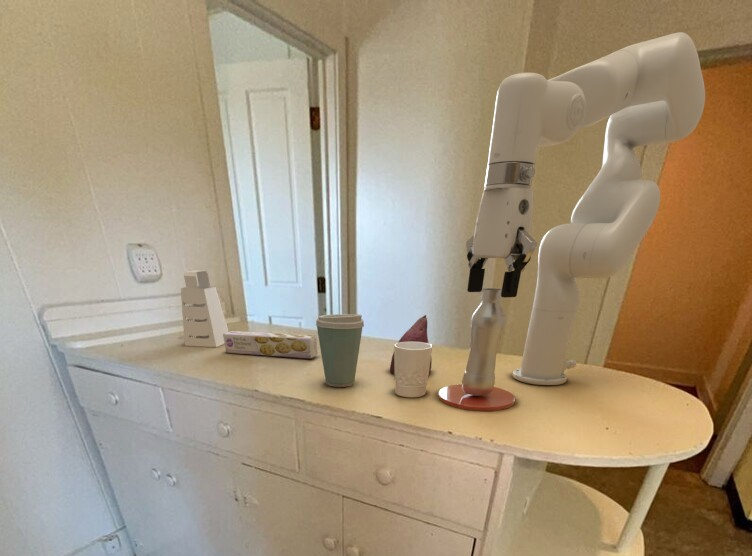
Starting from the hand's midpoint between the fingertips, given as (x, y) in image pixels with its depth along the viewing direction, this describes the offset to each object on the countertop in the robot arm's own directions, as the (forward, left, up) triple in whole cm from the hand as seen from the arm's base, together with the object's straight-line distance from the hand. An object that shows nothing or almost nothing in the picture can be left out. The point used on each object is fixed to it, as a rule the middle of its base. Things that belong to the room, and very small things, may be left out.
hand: (490, 294), depth 80 cm
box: (+29, -57, -20) cm, 67 cm away
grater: (+43, -81, -20) cm, 94 cm away
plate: (0, 0, -20) cm, 20 cm away
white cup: (+11, -9, -20) cm, 25 cm away
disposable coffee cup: (+22, -22, -20) cm, 37 cm away
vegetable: (+2, -24, -20) cm, 31 cm away
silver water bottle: (0, 0, -19) cm, 19 cm away
